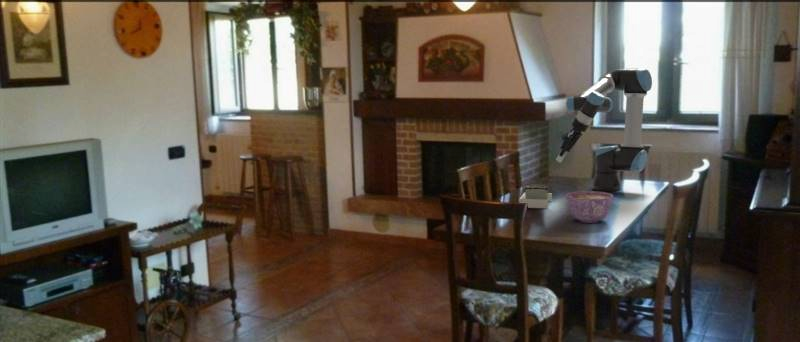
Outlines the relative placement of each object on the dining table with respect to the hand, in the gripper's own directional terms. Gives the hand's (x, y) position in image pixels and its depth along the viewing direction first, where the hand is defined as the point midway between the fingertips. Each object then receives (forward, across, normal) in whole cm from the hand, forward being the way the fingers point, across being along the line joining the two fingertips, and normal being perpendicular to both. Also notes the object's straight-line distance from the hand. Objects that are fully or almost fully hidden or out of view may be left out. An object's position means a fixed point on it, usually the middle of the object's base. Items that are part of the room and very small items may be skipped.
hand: (558, 161), depth 372 cm
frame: (+21, +12, +6) cm, 24 cm away
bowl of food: (+2, +34, +39) cm, 52 cm away
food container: (+20, +14, +8) cm, 26 cm away
